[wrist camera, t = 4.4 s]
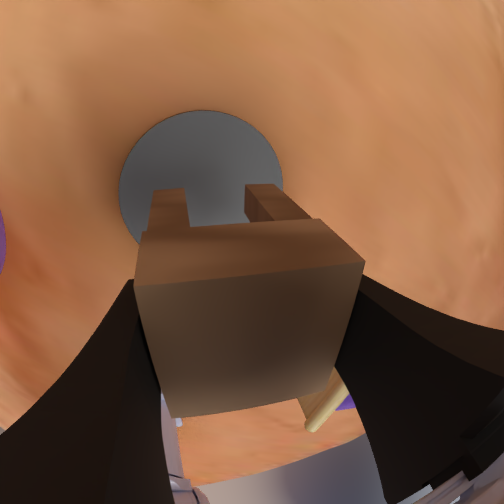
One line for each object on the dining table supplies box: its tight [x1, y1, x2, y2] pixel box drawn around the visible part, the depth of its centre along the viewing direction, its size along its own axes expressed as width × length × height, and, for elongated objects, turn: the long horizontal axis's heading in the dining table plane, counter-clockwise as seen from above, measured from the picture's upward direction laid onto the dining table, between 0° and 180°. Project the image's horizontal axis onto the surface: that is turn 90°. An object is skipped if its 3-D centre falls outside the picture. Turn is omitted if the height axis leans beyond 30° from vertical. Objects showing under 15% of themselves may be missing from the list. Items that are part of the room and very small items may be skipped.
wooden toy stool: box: [133, 184, 365, 419], centre depth 10 cm, size 5×5×6 cm
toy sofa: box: [297, 367, 356, 432], centre depth 28 cm, size 21×9×10 cm, turn 68°
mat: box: [119, 111, 283, 245], centre depth 18 cm, size 10×10×1 cm
